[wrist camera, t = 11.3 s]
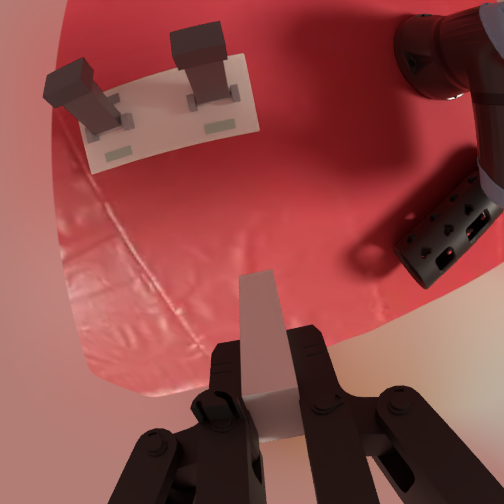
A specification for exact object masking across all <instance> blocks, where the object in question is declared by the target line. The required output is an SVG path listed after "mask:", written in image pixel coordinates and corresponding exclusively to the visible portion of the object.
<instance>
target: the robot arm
mask: <svg viewBox="0 0 504 504" xmlns="http://www.w3.org/2000/svg"><path fill="white" fill-rule="evenodd" d="M394 51H395V56H396V60H397V63H398V65H399V68H400V70H401V72H402V73H403V75H404V77H405V78H406V80H407V81H408V82H409V83H410V85H411V86H412V87H413V88H414V89H415V90H417V91H418V92H419V93H421V94H422V95H424V96H426V97H428V98H430V99H434V100H453V99H456V98H458V97H460V96H462V95H463V94H464V93H467V92H469V91H470V92H471V98H472V105H473V112H474V120H475V128H476V138H477V149H478V156H477V163H478V166H479V173H480V184H481V187H482V189H483V191H484V192H485V195H486V196H487V197H488V198H489V199H490V200H491V201H492V202H493V203H495V204H496V205H497V206H499V207H501V208H503V209H504V2H499V3H484V4H482V5H481V6H477V7H474V8H470V9H467V10H463V11H460V12H457V13H454V14H451V15H448V16H440V15H431V14H418V15H415V16H412V17H410V18H407V19H406V20H404V21H403V22H402V23H401V24H400V25H399V27H398V28H397V30H396V33H395V37H394ZM239 313H240V340H236V341H230V342H224V343H218V344H217V346H216V347H215V349H214V351H213V352H212V355H211V368H210V382H209V389H208V390H205V391H204V392H202V393H201V394H199V395H198V396H197V397H196V398H195V399H194V400H193V402H192V405H191V408H190V409H191V410H192V412H193V414H194V415H195V417H196V419H197V420H198V422H199V423H197V424H196V425H195V426H193V427H191V428H188V429H186V430H183V431H180V432H177V433H174V434H172V433H171V432H170V431H168V430H166V429H162V428H159V429H158V428H155V429H152V430H149V431H147V432H146V433H144V434H143V435H141V437H140V438H139V439H138V441H137V443H136V445H135V447H134V449H133V451H132V453H131V455H130V458H129V459H128V461H127V463H126V466H125V468H124V470H123V472H122V474H121V476H120V478H119V481H118V483H117V485H116V487H115V489H114V491H113V493H112V495H111V497H110V500H109V502H108V504H267V503H266V491H265V481H264V469H263V457H262V454H261V451H260V449H259V439H260V442H267V441H274V440H280V439H285V438H291V437H296V436H302V435H305V439H306V444H307V449H308V456H309V460H310V466H311V472H312V477H313V483H314V488H315V494H316V500H317V504H380V502H379V499H378V495H377V492H376V489H375V485H374V482H373V478H372V475H371V472H370V468H369V465H368V462H367V458H366V456H372V458H373V459H374V461H375V462H376V463H377V465H378V466H379V468H380V469H381V471H382V472H383V473H384V475H385V477H386V478H387V480H388V481H389V483H390V484H391V485H392V487H393V488H394V490H395V491H396V493H397V494H398V496H399V497H400V499H401V500H402V501H403V503H404V504H504V488H503V487H502V486H501V485H500V483H499V482H498V481H497V480H496V479H495V477H494V476H493V475H492V474H491V473H490V472H489V471H488V469H487V468H486V467H485V466H484V465H483V464H482V463H481V461H480V460H479V459H478V458H477V457H476V456H475V455H474V453H472V451H471V450H470V449H469V448H468V447H467V446H466V444H465V443H464V442H463V441H462V440H461V439H460V438H459V437H458V436H457V434H456V433H455V432H454V431H453V430H452V429H451V428H450V427H449V426H448V424H447V423H446V422H445V421H444V420H443V419H442V418H441V417H440V416H439V415H438V413H436V411H435V410H434V409H433V408H432V407H431V406H430V405H429V404H428V403H427V401H425V399H424V398H423V397H422V396H421V395H420V394H419V393H418V392H416V390H414V389H413V388H411V387H407V386H404V385H403V386H393V387H390V388H388V389H386V390H385V391H384V392H382V393H381V394H380V396H379V397H356V396H353V395H350V394H348V393H346V392H345V391H344V390H343V389H342V388H341V386H340V385H339V383H338V380H337V377H336V374H335V371H334V368H333V365H332V362H331V359H330V356H329V353H328V350H327V347H326V345H325V342H324V339H323V336H322V333H321V332H320V331H319V330H318V329H317V328H316V327H315V326H314V325H313V324H312V325H308V326H303V327H299V328H294V329H289V330H286V328H285V323H284V319H283V314H282V310H281V305H280V300H279V296H278V291H277V287H276V282H275V278H274V273H273V269H271V270H266V271H261V272H257V273H252V274H247V275H242V276H239Z"/></svg>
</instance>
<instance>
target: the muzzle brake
mask: <svg viewBox="0 0 504 504" xmlns="http://www.w3.org/2000/svg"><path fill="white" fill-rule="evenodd" d="M503 210H504V209H503V208H501V207H499V206H497V205H496V204H495V203H493V202H492V201H491V200H490V199H489V198H488V197H487V196H486V195H485V192H484V191H483V189H482V187H481V184H480V173H479V166H478V163H477V164H476V166H475V169H474V172H471V173H470V174H469V175H468V176H467V177H466V178H465V179H464V180H463V181H462V182H461V183H460V184H459V185H458V186H457V187H456V188H455V189H454V190H453V191H452V192H451V193H450V194H449V195H448V196H447V197H446V198H445V199H444V200H443V201H442V202H441V203H440V204H439V205H438V206H437V207H436V208H435V209H434V210H432V211H431V212H430V213H429V214H428V215H427V216H426V217H425V218H424V219H423V220H422V221H421V222H420V223H419V224H418V225H417V226H415V227H414V228H413V229H412V230H411V231H410V232H409V233H408V234H407V235H406V236H405V237H403V238H402V239H401V240H400V241H399V242H398V243H397V244H396V245H395V246H394V247H393V249H394V252H395V253H396V255H397V257H398V258H399V260H400V261H401V263H402V264H403V265H404V267H405V268H406V269H407V271H408V272H409V273H410V274H411V276H412V277H413V278H414V279H415V280H416V282H417V283H418V284H419V285H420V286H421V287H422V288H424V289H428V288H429V287H430V286H431V285H432V284H433V283H434V282H435V281H436V280H437V279H438V278H440V277H441V276H442V275H443V274H444V273H445V272H446V271H447V270H448V269H449V268H450V267H451V266H453V265H454V264H455V263H456V262H457V260H458V259H459V258H460V257H461V256H462V255H463V254H464V253H466V252H467V251H468V250H469V249H470V248H471V246H472V245H473V244H474V243H475V242H476V241H477V240H478V239H479V238H480V237H481V236H482V235H483V234H484V233H485V232H486V231H487V229H488V228H489V227H490V226H491V225H492V224H493V223H494V221H495V220H496V219H497V218H498V217H499V216H500V215H501V214H502V212H503ZM467 233H470V235H469V236H467ZM449 251H452V253H451V254H449ZM421 256H422V257H421Z"/></svg>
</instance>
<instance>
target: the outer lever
mask: <svg viewBox="0 0 504 504" xmlns="http://www.w3.org/2000/svg"><path fill="white" fill-rule="evenodd" d="M93 72H94V70H93V69H92V68H91V66H90V65H89V64H88V62H87V61H86V60H85V59H84V57H83V58H80V59H78V60H76V61H74V62H72V63H70V64H68V65H66V66H64V67H62V68H60V69H58V70H56V71H54V72H52V73H50V74H48V75H47V78H46V83H45V87H44V93H43V98H44V99H45V100H46V101H47V102H48V103H50V104H51V105H52V106H53V107H54V108H57V107H59V106H63V107H64V108H66V109H67V110H68V111H69V112H70V113H71V114H72V115H73V116H74V117H75V118H76V119H78V120H79V121H80V122H81V123H82V124H83V125H84V126H85V127H86V128H87V129H89V130H90V131H91V132H92V133H93V134H94V135H96V134H99V133H102V132H105V131H107V130H110V129H113V128H116V127H119V126H121V116H120V115H121V113H120V112H119V111H118V110H117V109H116V107H115V106H114V105H113V104H112V103H111V101H110V100H109V99H108V98H107V96H106V95H105V94H104V93H103V92H102V90H101V89H100V88H99V87H98V85H97V84H96V83H95V82H94V81H93Z"/></svg>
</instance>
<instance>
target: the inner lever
mask: <svg viewBox="0 0 504 504" xmlns="http://www.w3.org/2000/svg"><path fill="white" fill-rule="evenodd" d="M170 41H171V50H172V57H173V59H174V61H175V64H176V66H177V68H178V71H180V70H185V73H186V75H187V78H188V80H189V83H190V85H191V88H192V90H193V93H194V95H195V98H196V100H197V103H198V104H202V103H207V102H211V101H216V100H220V99H225V98H230V95H229V90H228V84H227V79H226V73H225V68H224V62H223V60H228V57H227V51H226V44H225V40H224V36H223V32H222V28H221V23H220V21H217V22H212V23H207V24H202V25H198V26H193V27H189V28H185V29H181V30H177V31H174V32H170Z"/></svg>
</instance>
